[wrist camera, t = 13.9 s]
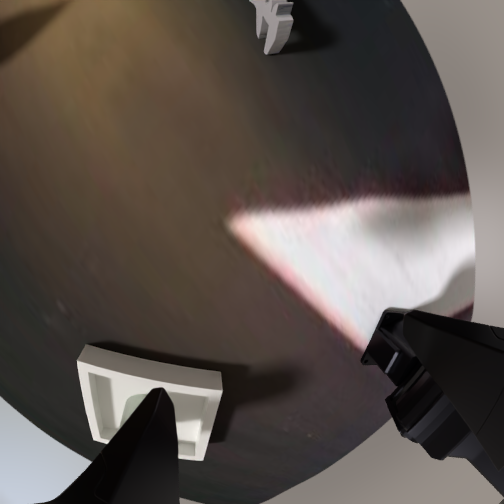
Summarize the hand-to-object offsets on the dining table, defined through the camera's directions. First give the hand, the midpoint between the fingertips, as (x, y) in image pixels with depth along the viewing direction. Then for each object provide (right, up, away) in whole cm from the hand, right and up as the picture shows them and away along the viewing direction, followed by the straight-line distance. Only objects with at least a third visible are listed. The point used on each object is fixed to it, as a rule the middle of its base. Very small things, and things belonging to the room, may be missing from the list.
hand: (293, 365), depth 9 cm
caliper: (-3, +28, +6) cm, 29 cm away
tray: (-12, -12, +15) cm, 23 cm away
